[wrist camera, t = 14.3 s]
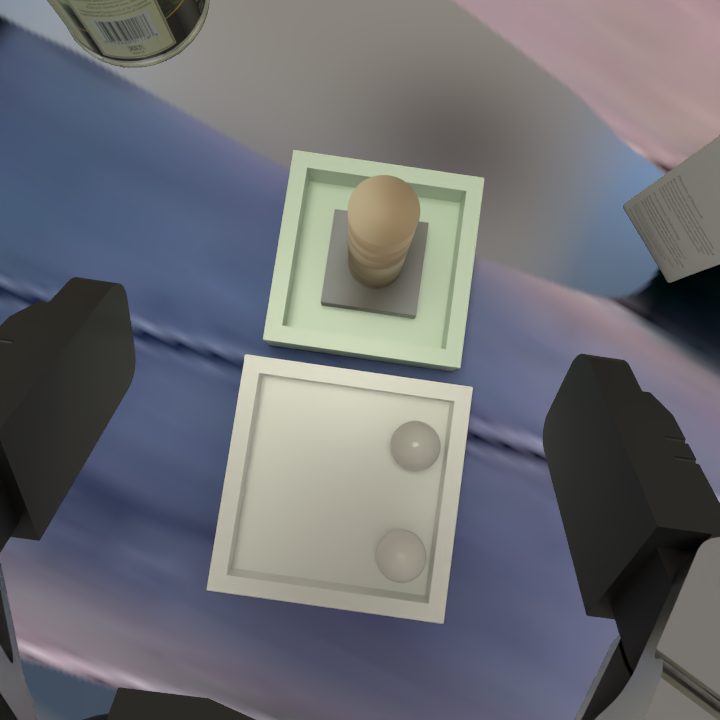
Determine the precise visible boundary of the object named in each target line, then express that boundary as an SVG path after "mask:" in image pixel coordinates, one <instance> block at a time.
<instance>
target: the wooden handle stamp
mask: <svg viewBox="0 0 720 720" xmlns="http://www.w3.org/2000/svg"><path fill="white" fill-rule="evenodd" d="M419 219H420V203H419V199H418V197H417V195H416V193H415V191H414V190H413V189H412V187H411V186H410V185H409V184H407V183H406V182H405V181H403V180H402V179H400V178H397V177H394V176H390V175H378V176H373V177H370V178H368V179H366V180H364V181H363V182H361V183H360V184H359V185H358V186H357V187H356V188H355V190H354V191H353V192H352V194H351V196H350V199H349V203H348V211H345V210H339V209H335V211H334V218H333V224H332V231H331V237H330V244H329V250H328V257H327V263H326V270H325V276H324V283H323V289H322V296H321V305H322V306H329V307H336V308H343V309H350V310H357V311H363V312H370V313H377V314H384V315H391V316H398V317H404V318H411V319H414V318H415V317H416V314H417V306H418V299H419V292H420V284H421V277H422V270H423V262H424V255H425V248H426V240H427V233H428V226H429V223H427V222H420V221H419Z"/></svg>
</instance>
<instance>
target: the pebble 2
mask: <svg viewBox="0 0 720 720" xmlns="http://www.w3.org/2000/svg"><path fill="white" fill-rule="evenodd" d="M376 563H377V566H378V568H379V570H380V572H381V573H382V574H383V575H384V576H385V577H386V578H388V579H389V580H391V581H393V582H397V583H406V582H410V581H412V580H414V579H415V578H417V577H418V576H419V575H420V574H421V572H422V571H423V569H424V567H425V564H426V550H425V547H424V544H423V542H422V541H421V539H420V538H419V537H418V536H417V535H416V534H414V533H413V532H411V531H408V530H404V529H397V530H393V531H390V532H388V533H387V534H385V535H384V536H383V537H382V538H381V540H380V541H379V543H378V545H377V548H376Z"/></svg>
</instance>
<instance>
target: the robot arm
mask: <svg viewBox="0 0 720 720" xmlns="http://www.w3.org/2000/svg"><path fill="white" fill-rule="evenodd" d="M134 370H135V348H134V341H133V335H132V328H131V321H130V314H129V308H128V301H127V295H126V291H125V289H124V287H123V286H122V285H121V284H118V283H111V282H105V281H98V280H91V279H85V278H78V277H75V278H72V279H70V280H69V281H68V282H67V283H66V285H65V286H64V287H63V288H62V289H61V290H60V291H59V292H58V293H57V294H56V295H55V296H54V298H53V299H52V300H51V301H50V302H49V303H48V302H41V301H38V302H37V303H35V304H33V305H31V306H29V307H27V308H25V309H23V310H21V311H19V312H17V313H16V314H14V315H12V316H10V317H9V318H8V319H7V320H6V321H5V322H4V323H3V324H2V325H1V326H0V552H1V550H2V549H3V547H4V546H5V544H6V543H7V541H8V539H9V538H10V537H16V538H24V539H31V540H39V541H40V539H41V537H42V535H43V534H44V532H45V530H46V529H47V527H48V525H49V523H50V522H51V520H52V518H53V517H54V515H55V513H56V512H57V510H58V508H59V506H60V505H61V503H62V501H63V500H64V498H65V496H66V494H67V493H68V491H69V489H70V488H71V486H72V484H73V482H74V481H75V479H76V477H77V476H78V474H79V472H80V470H81V469H82V467H83V465H84V464H85V462H86V460H87V458H88V457H89V455H90V453H91V452H92V450H93V448H94V446H95V445H96V443H97V441H98V440H99V438H100V436H101V435H102V433H103V431H104V429H105V428H106V426H107V424H108V423H109V421H110V419H111V417H112V416H113V414H114V412H115V411H116V409H117V407H118V405H119V404H120V402H121V400H122V399H123V397H124V395H125V393H126V392H127V390H128V388H129V386H130V384H131V381H132V378H133V375H134ZM543 447H544V452H545V455H546V459H547V463H548V467H549V471H550V475H551V479H552V483H553V487H554V490H555V494H556V498H557V502H558V506H559V510H560V514H561V518H562V521H563V525H564V529H565V533H566V537H567V541H568V545H569V549H570V553H571V556H572V560H573V564H574V568H575V572H576V576H577V580H578V584H579V587H580V591H581V595H582V599H583V603H584V607H585V611H586V615H587V616H594V617H601V618H609V619H615V621H616V624H617V628H618V631H619V635H618V637H617V638H616V639H615V640H614V641H613V643H612V644H611V646H610V648H609V650H608V652H607V654H606V656H605V658H604V660H603V662H602V664H601V666H600V668H599V670H598V672H597V674H596V676H595V678H594V680H593V682H592V685H591V687H590V689H589V691H588V693H587V695H586V697H585V699H584V701H583V703H582V705H581V707H580V709H579V711H578V713H577V715H576V717H575V719H574V720H720V503H719V501H718V499H717V497H716V495H715V493H714V492H713V490H712V488H711V486H710V484H709V482H708V480H707V478H706V477H705V475H704V473H703V471H702V469H701V467H700V465H699V464H696V463H695V461H696V458H695V456H694V454H693V452H692V450H691V448H690V447H689V445H688V444H686V443H685V437H684V435H683V433H682V431H681V430H680V428H679V426H678V424H677V422H676V420H675V418H674V416H673V415H672V414H671V413H670V412H669V411H668V410H667V409H666V408H665V407H664V406H663V405H662V404H661V403H660V402H659V401H658V400H657V399H656V398H655V397H654V396H653V395H652V394H651V393H650V392H643V391H642V390H641V388H640V386H639V384H638V382H637V380H636V378H635V376H634V374H633V372H632V370H631V368H630V366H629V364H628V363H627V362H626V361H624V360H620V359H613V358H606V357H600V356H593V355H586V354H580V355H578V356H577V357H576V358H575V359H574V361H573V362H572V364H571V366H570V368H569V370H568V372H567V374H566V376H565V378H564V381H563V383H562V385H561V387H560V389H559V391H558V393H557V395H556V397H555V399H554V401H553V403H552V405H551V407H550V410H549V412H548V414H547V416H546V419H545V423H544V428H543ZM0 720H38V717H37V714H36V710H35V708H34V704H33V701H32V698H31V696H30V693H29V691H28V688H27V684H26V681H25V678H24V674H23V670H22V666H21V661H20V656H19V651H18V646H17V641H16V636H15V631H14V626H13V621H12V616H11V611H10V607H9V602H8V597H7V592H6V587H5V582H4V577H3V572H2V567H1V564H0ZM84 720H255V719H253V718H251V717H248V716H246V715H244V714H242V713H240V712H237V711H235V710H233V709H231V708H228V707H226V706H224V705H222V704H220V703H217V702H215V701H213V700H211V699H208V698H200V697H192V696H184V695H176V694H168V693H160V692H152V691H144V690H135V689H127V688H118V690H117V694H116V696H115V699H114V701H113V704H112V707H111V709H110V712H109V714H103V715H98V716H94V717H91V718H87V719H84Z"/></svg>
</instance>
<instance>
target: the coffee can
mask: <svg viewBox="0 0 720 720" xmlns="http://www.w3.org/2000/svg"><path fill="white" fill-rule="evenodd" d="M48 2H49V3H50V5H51V6H52V7H53V9H54V10H55V11H56V13H57V14H58V15H59V17H60V18H61V19H62V21H63V22H64V23H65V25H66V26H67V28H68V30H69V32H70V33H71V35H72V37H73V38H74V40H75V41H76V42H77V43H78V44H79V45H80V46H81V47H82V48H83V49H84V50H85V51H87V52H88V53H89V54H91V55H92V56H94V57H95V58H97V59H99V60H101V61H103V62H106V63H109V64H112V65H116V66H120V67H146V66H151V65H155V64H158V63H161V62H164V61H166V60H168V59H170V58H172V57H174V56H175V55H177V54H179V53H180V52H182V51H183V50H184V49H185V48H186V47H187V46H188V45H189V44H190V43H191V42H192V41H193V40H194V39H195V37H196V36H197V35H198V33H199V32H200V30H201V28H202V26H203V24H204V22H205V19H206V16H207V12H208V8H209V0H48Z"/></svg>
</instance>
